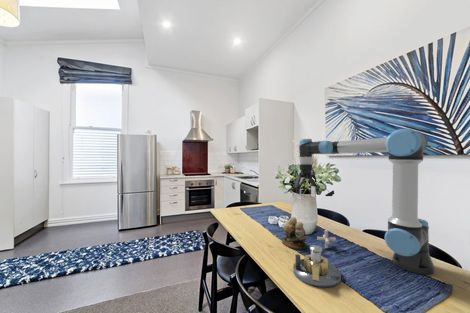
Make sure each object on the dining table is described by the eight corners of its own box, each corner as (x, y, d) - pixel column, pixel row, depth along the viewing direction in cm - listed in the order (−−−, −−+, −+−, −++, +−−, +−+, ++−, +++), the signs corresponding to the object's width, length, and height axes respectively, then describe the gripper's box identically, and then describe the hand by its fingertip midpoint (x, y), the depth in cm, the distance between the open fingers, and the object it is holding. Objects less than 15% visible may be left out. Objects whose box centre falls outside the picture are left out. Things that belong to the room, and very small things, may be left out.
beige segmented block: (329, 282, 83) (328, 269, 83) (302, 277, 86) (302, 264, 86) (327, 260, 100) (327, 249, 100) (305, 256, 104) (305, 246, 104)
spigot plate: (349, 275, 91) (349, 248, 91) (325, 294, 79) (325, 263, 79) (309, 258, 107) (308, 235, 107) (284, 272, 95) (284, 246, 95)
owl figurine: (313, 248, 119) (313, 219, 119) (298, 253, 113) (298, 222, 113) (291, 237, 135) (290, 211, 135) (277, 241, 129) (276, 214, 129)
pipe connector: (338, 252, 114) (338, 234, 114) (319, 250, 116) (318, 233, 116) (333, 244, 123) (333, 228, 123) (315, 243, 125) (315, 227, 125)
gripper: (313, 163, 138) (313, 194, 138) (287, 164, 125) (288, 199, 125) (323, 163, 132) (324, 196, 132) (297, 164, 118) (297, 201, 118)
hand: (306, 197), depth 128 cm, fingers open, 13 cm apart
